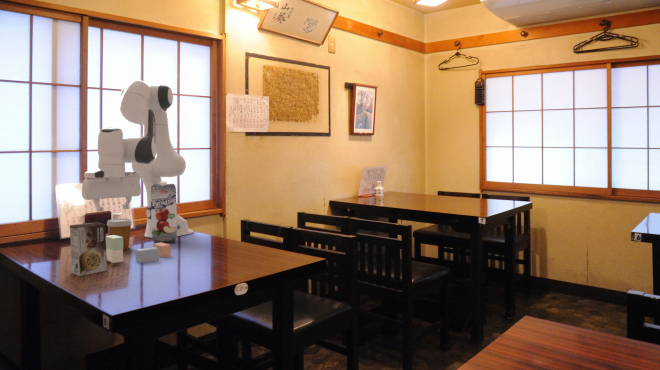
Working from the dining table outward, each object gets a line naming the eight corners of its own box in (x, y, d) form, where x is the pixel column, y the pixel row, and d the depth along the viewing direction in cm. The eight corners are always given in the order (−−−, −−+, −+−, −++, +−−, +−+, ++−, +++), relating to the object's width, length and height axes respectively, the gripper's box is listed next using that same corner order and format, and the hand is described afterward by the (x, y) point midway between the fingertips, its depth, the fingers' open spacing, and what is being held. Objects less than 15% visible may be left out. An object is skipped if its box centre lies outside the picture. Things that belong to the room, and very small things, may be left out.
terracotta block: (161, 253, 185) (161, 242, 184) (170, 256, 180) (170, 244, 180) (153, 255, 182) (152, 243, 182) (162, 257, 178) (162, 246, 177)
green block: (114, 246, 176) (114, 234, 175) (123, 249, 171) (123, 237, 171) (104, 248, 173) (104, 236, 173) (113, 250, 168) (113, 238, 168)
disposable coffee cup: (137, 246, 197) (136, 218, 196) (125, 251, 188) (124, 222, 187) (115, 246, 198) (114, 218, 197) (102, 251, 189) (101, 221, 188)
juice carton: (152, 240, 211) (151, 180, 209) (177, 239, 214) (176, 180, 212) (151, 244, 202) (149, 182, 200) (177, 243, 205) (175, 181, 204)
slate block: (136, 261, 172) (135, 249, 171) (155, 258, 176) (155, 246, 176) (139, 263, 169) (139, 250, 169) (158, 260, 173) (158, 248, 173)
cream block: (115, 258, 176) (115, 246, 176) (123, 261, 171) (122, 249, 171) (106, 259, 174) (105, 247, 173) (113, 263, 169) (112, 250, 168)
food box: (98, 267, 162) (97, 221, 160) (107, 271, 157) (106, 223, 156) (70, 273, 154) (69, 224, 153) (79, 276, 150) (77, 226, 149)
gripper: (135, 171, 180) (136, 206, 181) (79, 173, 164) (80, 212, 165) (143, 171, 176) (144, 208, 177) (86, 173, 160) (88, 213, 161)
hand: (113, 210), depth 171 cm, fingers open, 8 cm apart
